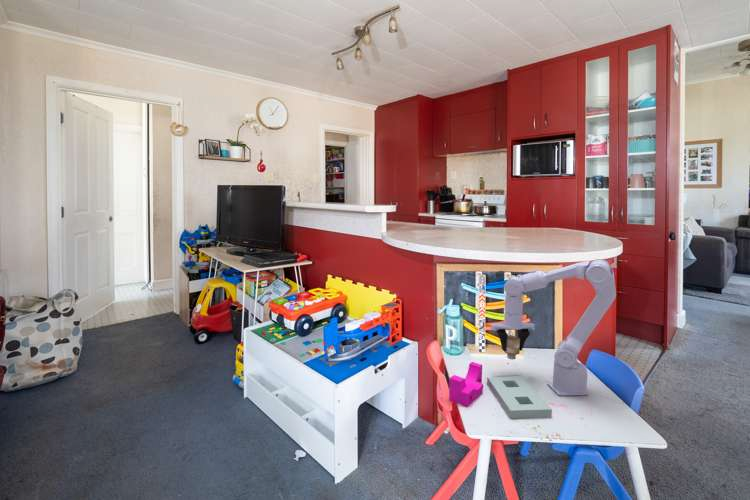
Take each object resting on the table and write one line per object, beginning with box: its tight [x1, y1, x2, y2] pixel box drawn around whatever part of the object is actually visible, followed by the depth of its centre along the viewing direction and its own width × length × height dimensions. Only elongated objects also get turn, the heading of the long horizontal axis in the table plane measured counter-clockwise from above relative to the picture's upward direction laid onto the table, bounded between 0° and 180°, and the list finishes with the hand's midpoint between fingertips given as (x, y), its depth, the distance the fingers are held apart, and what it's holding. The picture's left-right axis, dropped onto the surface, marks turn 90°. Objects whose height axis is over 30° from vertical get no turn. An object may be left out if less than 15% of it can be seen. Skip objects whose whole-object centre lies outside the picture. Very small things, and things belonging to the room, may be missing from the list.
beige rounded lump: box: [504, 334, 520, 360], centre depth 131 cm, size 5×5×7 cm
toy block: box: [448, 361, 484, 408], centre depth 121 cm, size 15×6×8 cm, turn 139°
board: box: [486, 375, 553, 420], centre depth 118 cm, size 12×20×2 cm, turn 2°
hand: (511, 349), depth 131 cm, fingers closed on beige rounded lump, 5 cm apart
